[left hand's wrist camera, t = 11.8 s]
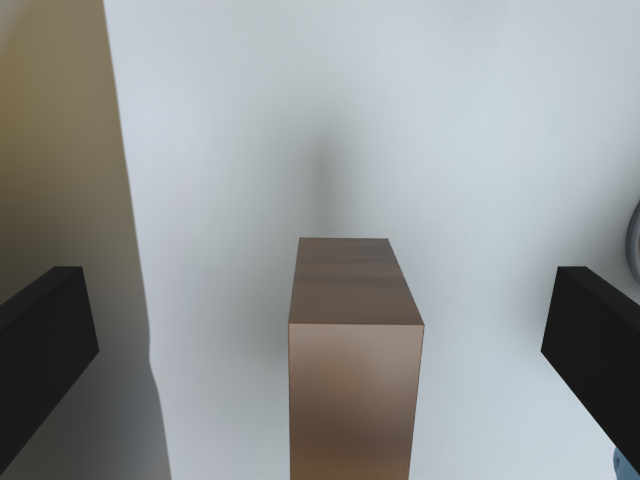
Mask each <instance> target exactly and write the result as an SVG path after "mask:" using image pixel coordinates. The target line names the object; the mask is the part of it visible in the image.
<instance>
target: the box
mask: <svg viewBox="0 0 640 480" xmlns="http://www.w3.org/2000/svg"><path fill="white" fill-rule="evenodd" d="M423 334H424V323H423V320H422V318H421V315H420V313H419V311H418V308H417V306H416V304H415V301H414V299H413V297H412V294H411V292H410V290H409V287H408V285H407V283H406V280H405V278H404V276H403V273H402V271H401V269H400V266H399V264H398V261H397V259H396V257H395V254H394V252H393V250H392V247H391V245H390V243H389V240H388V239H372V238H299V245H298V252H297V260H296V267H295V275H294V282H293V290H292V298H291V305H290V313H289V320H288V355H289V428H290V480H408V478H409V468H410V459H411V449H412V439H413V430H414V420H415V411H416V401H417V392H418V382H419V373H420V363H421V354H422V344H423Z"/></svg>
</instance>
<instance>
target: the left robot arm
mask: <svg viewBox="0 0 640 480" xmlns="http://www.w3.org/2000/svg"><path fill="white" fill-rule="evenodd" d="M626 249H627V259H628V263H629V267H630V269H631V271H632V274H633V275H634V277H635V279H636V280H637V281H638V282H639V284H640V204H639V206H638V208H637V210H636V212H635V214H634V216H633V218H632V221H631V224H630V227H629V231H628V236H627V245H626ZM98 352H99V347H98V342H97V337H96V333H95V328H94V323H93V318H92V313H91V308H90V303H89V298H88V293H87V288H86V284H85V279H84V274H83V269H82V267H80V266H79V267H77V266H75V267H74V266H71V267H70V266H56V267H53V268H52V269H50V270H49V271H47V272H46V273H45V274H43V275H42V276H40V277H39V278H38V279H36V280H35V281H34V282H32V283H31V284H29V285H28V286H27V287H25V288H24V289H23V290H21V291H20V292H18V293H17V294H16V295H14V296H13V297H11V298H10V299H9V300H7V301H6V302H5V303H3V304H2V305H0V476H1V474H2V473H3V472H4V471H5V469H6V468H7V467H8V466H9V464H10V463H11V462H12V461H13V459H14V458H15V457H16V456H17V454H18V453H19V452H20V451H21V449H22V448H23V447H24V446H25V444H26V443H27V442H28V440H29V439H30V438H31V437H32V435H33V434H34V433H35V432H36V430H37V429H38V428H39V427H40V425H41V424H42V423H43V422H44V420H45V419H46V418H47V417H48V415H49V414H50V413H51V412H52V410H53V409H54V408H55V406H56V405H57V404H58V403H59V401H60V400H61V399H62V398H63V396H64V395H65V394H66V393H67V391H68V390H69V389H70V388H71V386H72V385H73V384H74V383H75V381H76V380H77V379H78V378H79V376H80V375H81V374H82V373H83V371H84V370H85V369H86V368H87V366H88V365H89V364H90V363H91V361H92V360H93V359H94V358H95V356H96V355H97V354H98ZM541 352H542V354H543V355H544V356H545V358H546V359H547V360H548V361H549V363H550V364H551V365H552V366H553V368H554V369H555V370H556V371H557V373H558V374H559V375H560V376H561V378H562V379H563V380H564V381H565V383H566V384H567V385H568V386H569V388H570V389H571V390H572V391H573V393H574V394H575V395H576V396H577V398H578V399H579V400H580V402H581V403H582V404H583V405H584V407H585V408H586V409H587V410H588V412H589V413H590V414H591V415H592V417H593V418H594V419H595V420H596V422H597V423H598V424H599V425H600V427H601V428H602V429H603V430H604V432H605V433H606V434H607V435H608V437H609V438H610V439H611V440H612V442H613V443H614V444H615V446H616V448H615V451H614V456H613V462H614V470H615V473H616V477H617V480H640V305H638V304H637V303H635V302H634V301H633V300H631V299H630V298H629V297H627V296H626V295H624V294H623V293H622V292H620V291H619V290H618V289H616V288H615V287H613V286H612V285H611V284H609V283H608V282H606V281H605V280H604V279H602V278H601V277H600V276H598V275H597V274H595V273H594V272H593V271H591V270H590V269H589V268H587V267H586V266H558V269H557V274H556V279H555V283H554V288H553V293H552V298H551V303H550V308H549V313H548V318H547V323H546V328H545V332H544V337H543V342H542V347H541Z"/></svg>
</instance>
